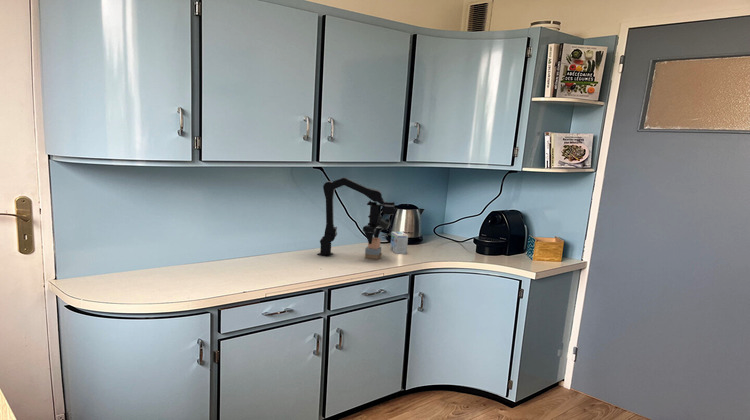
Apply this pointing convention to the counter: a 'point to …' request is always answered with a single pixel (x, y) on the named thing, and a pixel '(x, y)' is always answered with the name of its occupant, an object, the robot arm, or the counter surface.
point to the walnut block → (373, 256)
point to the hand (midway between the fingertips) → (373, 242)
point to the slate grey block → (373, 251)
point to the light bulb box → (399, 242)
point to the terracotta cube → (374, 243)
